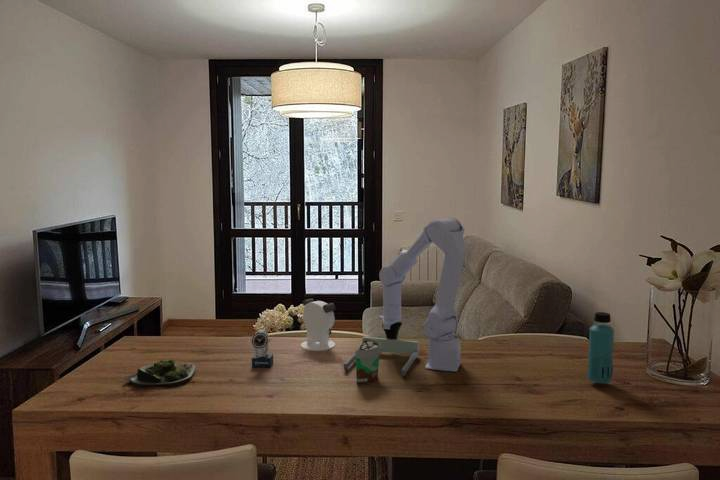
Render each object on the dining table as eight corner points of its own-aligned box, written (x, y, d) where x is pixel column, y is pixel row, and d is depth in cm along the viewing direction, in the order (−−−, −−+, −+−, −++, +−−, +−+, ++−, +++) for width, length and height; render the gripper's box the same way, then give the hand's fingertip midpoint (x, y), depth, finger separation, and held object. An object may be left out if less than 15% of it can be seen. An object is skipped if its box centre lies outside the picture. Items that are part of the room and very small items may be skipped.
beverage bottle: (600, 390, 160) (604, 317, 157) (581, 382, 166) (584, 311, 163) (617, 386, 163) (621, 314, 160) (597, 378, 169) (601, 309, 166)
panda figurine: (343, 345, 199) (343, 301, 197) (319, 353, 191) (319, 307, 189) (317, 338, 207) (317, 295, 205) (293, 346, 199) (292, 301, 197)
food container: (377, 387, 162) (377, 352, 161) (355, 386, 164) (355, 350, 162) (385, 372, 174) (385, 338, 173) (364, 370, 176) (364, 337, 174)
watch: (250, 370, 176) (249, 334, 175) (256, 361, 184) (255, 326, 183) (269, 370, 176) (268, 334, 174) (274, 361, 184) (273, 326, 182)
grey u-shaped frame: (418, 356, 187) (418, 341, 187) (404, 378, 169) (404, 361, 168) (363, 351, 193) (363, 336, 192) (343, 371, 174) (343, 355, 174)
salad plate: (143, 365, 182) (142, 350, 181) (202, 364, 183) (202, 349, 182) (120, 389, 163) (119, 373, 162) (186, 388, 163) (185, 372, 163)
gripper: (385, 297, 198) (385, 337, 199) (373, 308, 184) (373, 351, 186) (406, 299, 196) (406, 339, 197) (395, 309, 182) (395, 353, 184)
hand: (392, 345), depth 191 cm, fingers closed
